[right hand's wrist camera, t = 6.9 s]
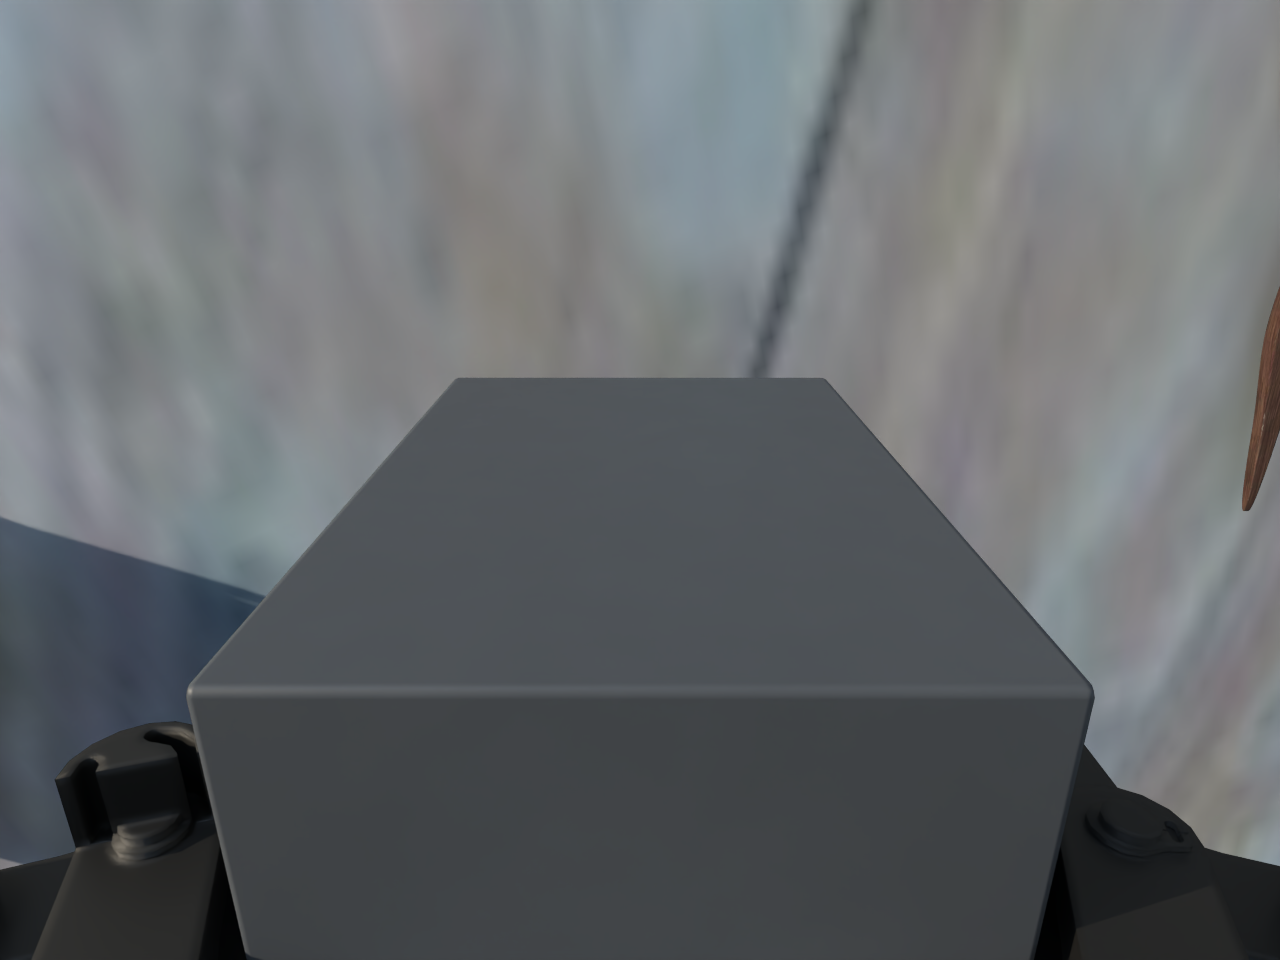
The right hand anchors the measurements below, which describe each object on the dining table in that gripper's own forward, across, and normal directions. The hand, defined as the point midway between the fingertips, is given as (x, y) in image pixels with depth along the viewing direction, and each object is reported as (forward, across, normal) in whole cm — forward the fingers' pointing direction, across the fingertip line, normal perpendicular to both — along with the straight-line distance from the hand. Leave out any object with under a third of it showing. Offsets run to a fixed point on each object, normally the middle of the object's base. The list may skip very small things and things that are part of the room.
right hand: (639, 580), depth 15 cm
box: (+1, 0, -10) cm, 10 cm away
